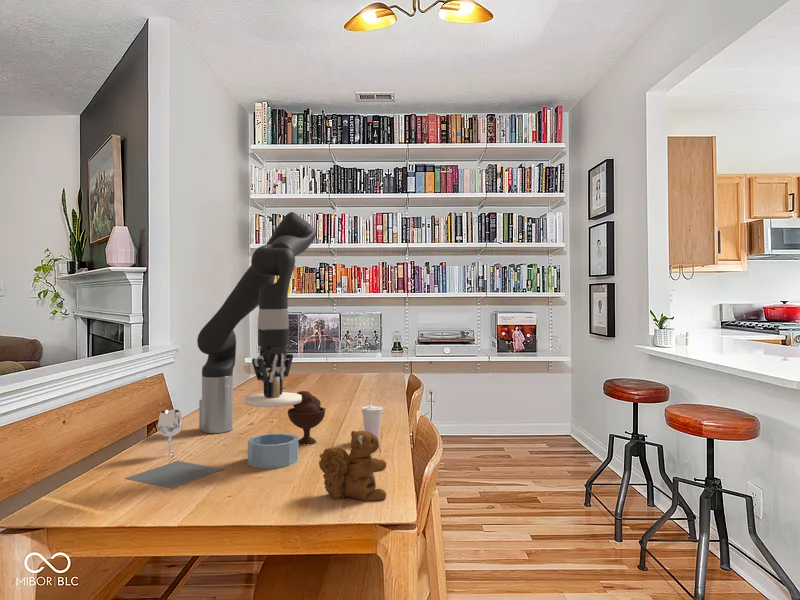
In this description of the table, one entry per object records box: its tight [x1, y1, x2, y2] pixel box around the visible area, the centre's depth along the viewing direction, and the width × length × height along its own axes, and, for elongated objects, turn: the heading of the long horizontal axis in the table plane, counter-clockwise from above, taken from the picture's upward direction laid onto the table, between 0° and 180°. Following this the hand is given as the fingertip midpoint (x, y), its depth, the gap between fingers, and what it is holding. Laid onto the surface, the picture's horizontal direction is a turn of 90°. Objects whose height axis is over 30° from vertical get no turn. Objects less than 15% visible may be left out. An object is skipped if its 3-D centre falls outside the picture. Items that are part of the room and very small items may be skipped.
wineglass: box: [157, 409, 183, 458], centre depth 141 cm, size 6×6×12 cm
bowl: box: [247, 432, 299, 470], centre depth 136 cm, size 12×12×6 cm
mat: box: [124, 460, 224, 489], centre depth 126 cm, size 15×15×1 cm
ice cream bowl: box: [287, 390, 327, 446], centre depth 156 cm, size 11×11×15 cm
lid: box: [244, 376, 302, 408], centre depth 136 cm, size 14×14×6 cm
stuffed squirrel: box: [318, 430, 387, 501], centre depth 115 cm, size 10×14×13 cm
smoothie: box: [361, 392, 384, 441], centre depth 158 cm, size 6×6×14 cm
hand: (273, 395), depth 136 cm, fingers closed on lid, 3 cm apart
